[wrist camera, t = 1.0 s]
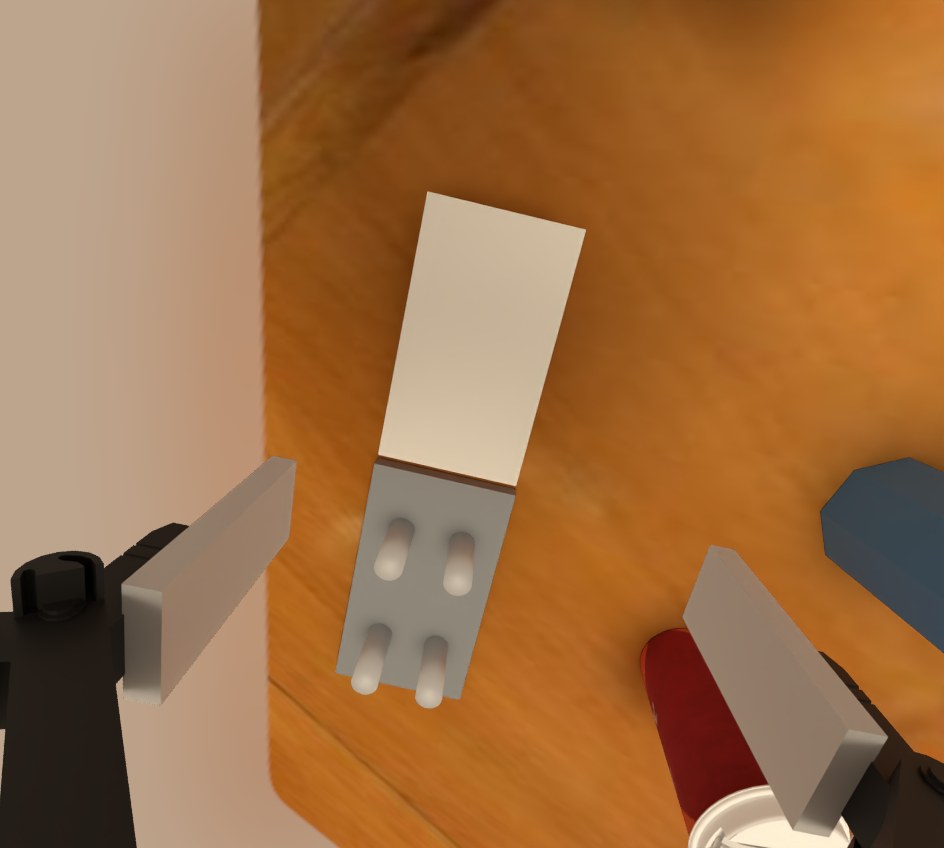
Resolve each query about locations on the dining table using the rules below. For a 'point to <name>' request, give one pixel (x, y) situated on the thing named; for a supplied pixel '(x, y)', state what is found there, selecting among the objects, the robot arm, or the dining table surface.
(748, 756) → the coffee cup
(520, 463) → the shelf board
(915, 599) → the water bottle
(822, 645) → the dining table surface
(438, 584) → the peg stand
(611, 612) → the dining table surface
